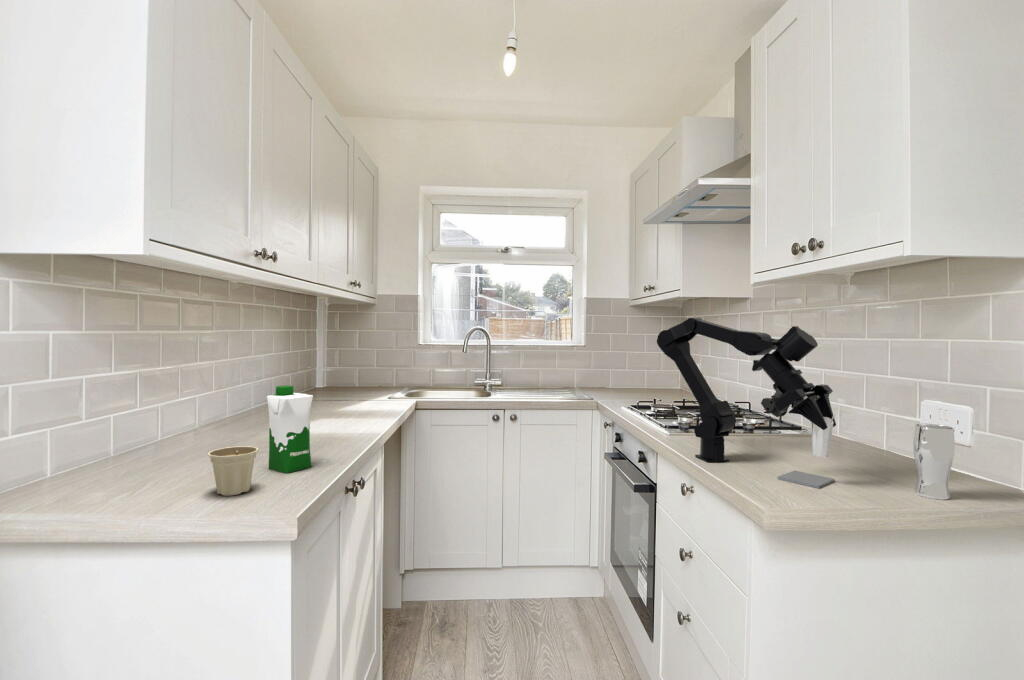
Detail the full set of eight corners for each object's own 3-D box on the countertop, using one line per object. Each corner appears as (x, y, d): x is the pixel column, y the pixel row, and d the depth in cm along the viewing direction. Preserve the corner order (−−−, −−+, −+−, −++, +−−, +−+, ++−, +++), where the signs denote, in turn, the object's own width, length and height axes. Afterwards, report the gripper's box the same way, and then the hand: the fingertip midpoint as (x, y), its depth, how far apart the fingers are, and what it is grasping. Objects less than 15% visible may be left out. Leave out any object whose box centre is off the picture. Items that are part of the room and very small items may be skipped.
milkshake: (823, 460, 119) (825, 416, 119) (804, 453, 125) (806, 411, 124) (839, 458, 121) (841, 415, 120) (820, 452, 126) (822, 410, 125)
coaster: (777, 479, 126) (777, 476, 126) (794, 472, 132) (794, 470, 132) (818, 488, 119) (818, 485, 119) (834, 481, 125) (834, 478, 125)
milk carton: (294, 461, 137) (294, 384, 136) (317, 467, 132) (317, 386, 132) (262, 469, 130) (262, 387, 129) (286, 475, 125) (286, 390, 124)
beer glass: (950, 494, 116) (953, 425, 116) (954, 502, 110) (957, 430, 110) (911, 488, 120) (913, 422, 120) (912, 496, 114) (915, 426, 114)
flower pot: (203, 490, 113) (203, 449, 113) (251, 482, 119) (251, 443, 119) (213, 501, 106) (213, 458, 106) (263, 492, 112) (263, 451, 112)
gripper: (776, 391, 140) (818, 441, 132) (739, 397, 128) (784, 452, 120) (809, 364, 133) (856, 415, 125) (774, 367, 121) (823, 424, 113)
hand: (830, 427), depth 121 cm, fingers closed on milkshake, 4 cm apart
